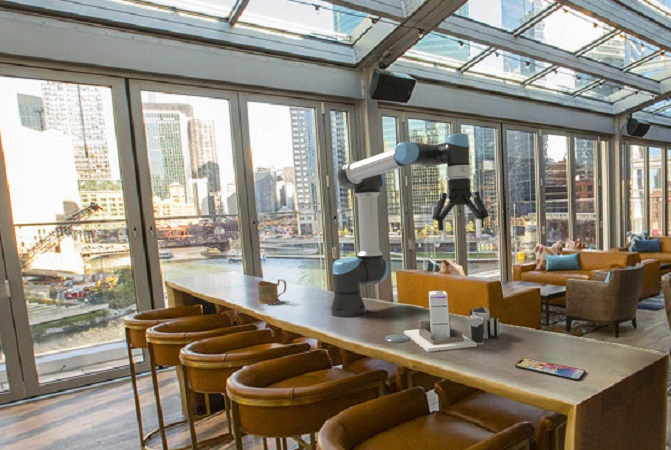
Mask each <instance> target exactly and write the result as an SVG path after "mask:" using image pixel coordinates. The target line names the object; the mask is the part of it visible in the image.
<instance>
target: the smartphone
mask: <svg viewBox="0 0 671 450" xmlns="http://www.w3.org/2000/svg"><path fill="white" fill-rule="evenodd" d="M514 366H515V368H516V369H518V370H519V369H520V370H524V371H528V372H533V373H538V374H540V375H541V374H542V375H547V376H550V377H551V376H552V377H555V378H561V379H564V380H565V379H566V380H568V381H569V380H570V381H574V382H575V381H576V382H580V381H581V380H582V379H583V377H585V375H586V370H585V369H582V368H576V367H571V366H567V365H562V364H559V363H551V362H548V361H544V360H538V359H533V358H528V357H523V358H521V359H520V360H519V361H517V362H516V363H515V365H514Z"/></svg>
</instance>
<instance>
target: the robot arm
mask: <svg viewBox="0 0 671 450" xmlns="http://www.w3.org/2000/svg"><path fill="white" fill-rule="evenodd" d="M445 164H446V165H447V179H448V180H447V183H448V184H447V186H448V192H447V193H446V192H441V193H439V201H438V203H437V205H436V207H435V210H434V212H433V215H432V220H434V221H436V222H437V229H438V230H437V231H439V232H440V240H441V241H446V240H447V224H446V223H447V222H446V221H445V219H446V217H447V216H448V215H449V213H450V212H451V210H452V209H453V208H454V207H455V206H466V207H467V208H468V209H469V210H470V211H471V213H472V214H473V215H474V216H475V217H476V219H475V237H476V238H477V239H478V238H479V239H481V238H483V229H484V226H485V223H484V220H485V219H486V218H488V217H489V215H490V214H489V213H488V211H487V209H486V207H485V205H484V203H483V201H482V199H481V197H480V196H481V195H480V192H479V191H478V190H477V191H473V192H471V188H472V187H471V178H470V177H471V167H470V165H471V163H470V142H469V136H468V135H467V134H466V133H453V134H448V135H447V136H446V140H445V142H443V143H438V144H429V143H419V142H413V141H401V142H399V143H398V144H397V145H396V146H395V147H394V148H392V149H389V150H386V151H383V152H381V153H378V154H375V155H372V156H370V157H367V158H364V159H361V160H358V161H357V160H350V161H348V162H345V163H344V164H342V165H340V167H339V168H338V170H337V173H336V176H337V177H336V178H337V182H339V184H340V186H341V187H343V188H344V189H347V190H352V191H353V194H354V196H355V197H356V198H357V206H358V207H357V209H358V231H359V232H358V233H359V235H358V236H359V252H358V253H357V254H356V256H348V257H343V258H339V259H337V260H334V262H333V264H332V273H333V299H332V303H331V306H330V314H331V315H332V316H335V317H341V318H342V317H347V318H348V317H359V316H362V315H365V314H367V307H366V303H365V301H364V299H363V296H362V287H363V286H368V285H376V284H379V283H382V282H383V281H384V280H386V279H387V277H388V275H389V271H390V269H389V262H387V260H386V258H384V256H383V255H384V254H383V252H382V251H381V250H380V243H379V242H380V241H379V240H380V238H379V236H380V235H379V219H378V217H379V216H378V196H379V195H380V194H381V189H383V187H384V185H385V183H386V177H385V173H388V172H391V171H395V170H398V169H402V168H404V167H408V166H412V165H418V166H419V165H420V166H422V167H425V168H426V167H427V168H428V167H431V168H432V167H435V166H440V165H445ZM471 198H472V199H473V201H474V203H475V204H474V203H473V201H472V199H471ZM447 199H449V201H448V203H447V205H446V206H445V208H444V205H445V203H446V201H447ZM475 205H476V206H475ZM443 208H444V209H443Z"/></svg>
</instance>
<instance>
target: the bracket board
mask: <svg viewBox="0 0 671 450" xmlns="http://www.w3.org/2000/svg"><path fill="white" fill-rule="evenodd" d="M450 322H451V320H450V317H449V327H450V338H442V339H435V338H434V335H433V334H432V333H431V325H430V318H429V319H420V320H418V329H417V328H416V329H408V330H404V331H403V335H406V336H408V337H410V338H409V339H411V340H412V341H413V340H414V341H413V342H414V343H416V344H417V345H418V344H419V347H421V348H422V347H423V349H424V350H425V351H426V352H427V353H430V352H438V351H439V350H440V351H446V350H447V351H448V350H456V349H465V348H473V347H478V345H477V343H476V342H474V341H473V340H471V339H472V338H469V337H467V336H465V335H464V334H463V332H462V331H460V330H458V329H457V328H455V327H453V326H452V325H451V323H450ZM440 351H439V352H440Z"/></svg>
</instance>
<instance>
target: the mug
mask: <svg viewBox="0 0 671 450" xmlns="http://www.w3.org/2000/svg"><path fill="white" fill-rule="evenodd" d="M280 281H281V282H283V284H284V285H283V286H284V287H283V291H282V292H281V293H279V294H278V291H279V290H278V287H279V286H280ZM257 288H258V289H257V293H258V295H257V296H258V300H257V302H256V304H257V303H258V304H257V305H259V304H271V305H273V304H272V303H276V304H278V303H277V302H279V301H280V302H281V300H280V299H279V297H280V296H281V295H282V294H284V293H286V292H287V291H286V290H287V282H286V281H285V280H284V279H277V283H275V282H270V281H266V280H259V281H258V282H257ZM280 302H279V303H280Z"/></svg>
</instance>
